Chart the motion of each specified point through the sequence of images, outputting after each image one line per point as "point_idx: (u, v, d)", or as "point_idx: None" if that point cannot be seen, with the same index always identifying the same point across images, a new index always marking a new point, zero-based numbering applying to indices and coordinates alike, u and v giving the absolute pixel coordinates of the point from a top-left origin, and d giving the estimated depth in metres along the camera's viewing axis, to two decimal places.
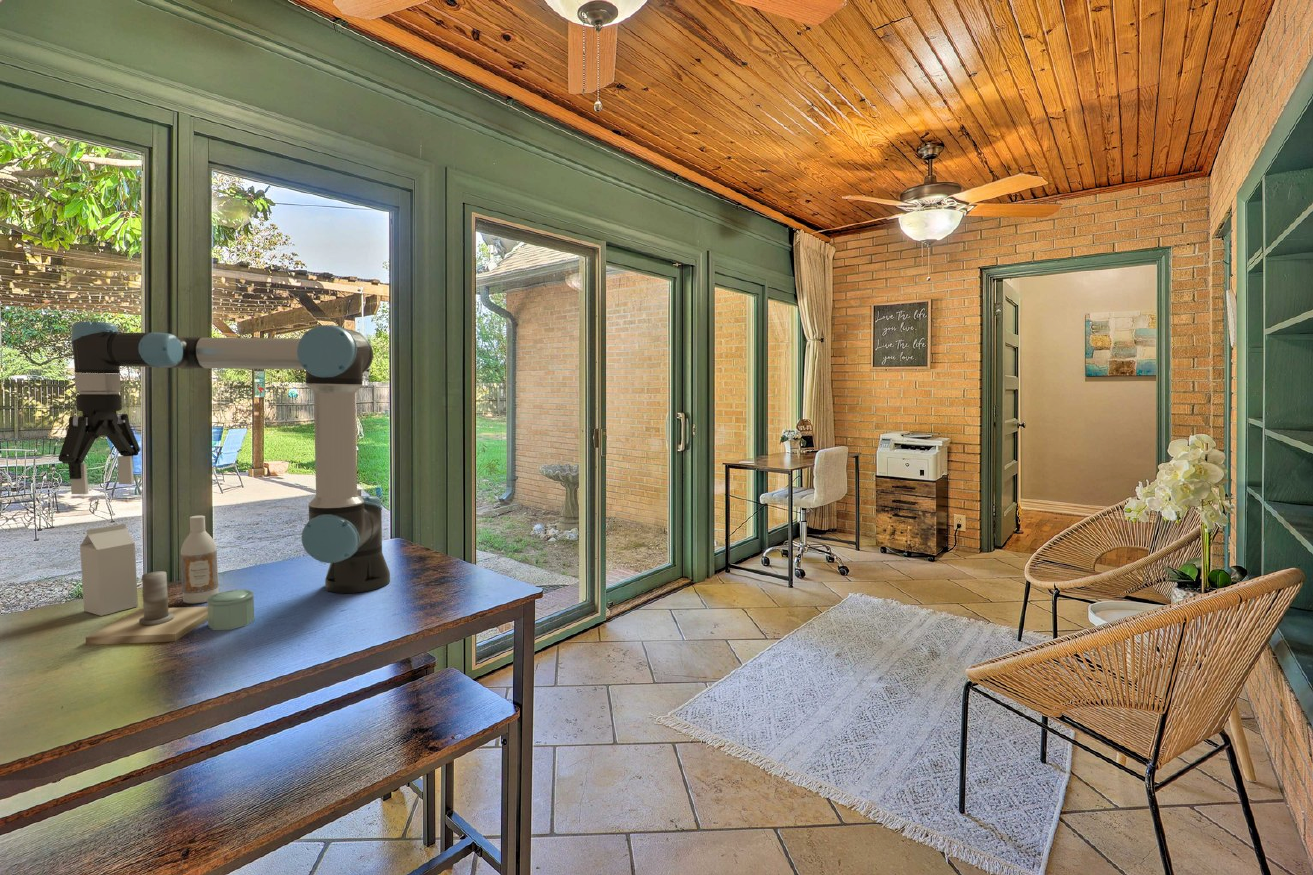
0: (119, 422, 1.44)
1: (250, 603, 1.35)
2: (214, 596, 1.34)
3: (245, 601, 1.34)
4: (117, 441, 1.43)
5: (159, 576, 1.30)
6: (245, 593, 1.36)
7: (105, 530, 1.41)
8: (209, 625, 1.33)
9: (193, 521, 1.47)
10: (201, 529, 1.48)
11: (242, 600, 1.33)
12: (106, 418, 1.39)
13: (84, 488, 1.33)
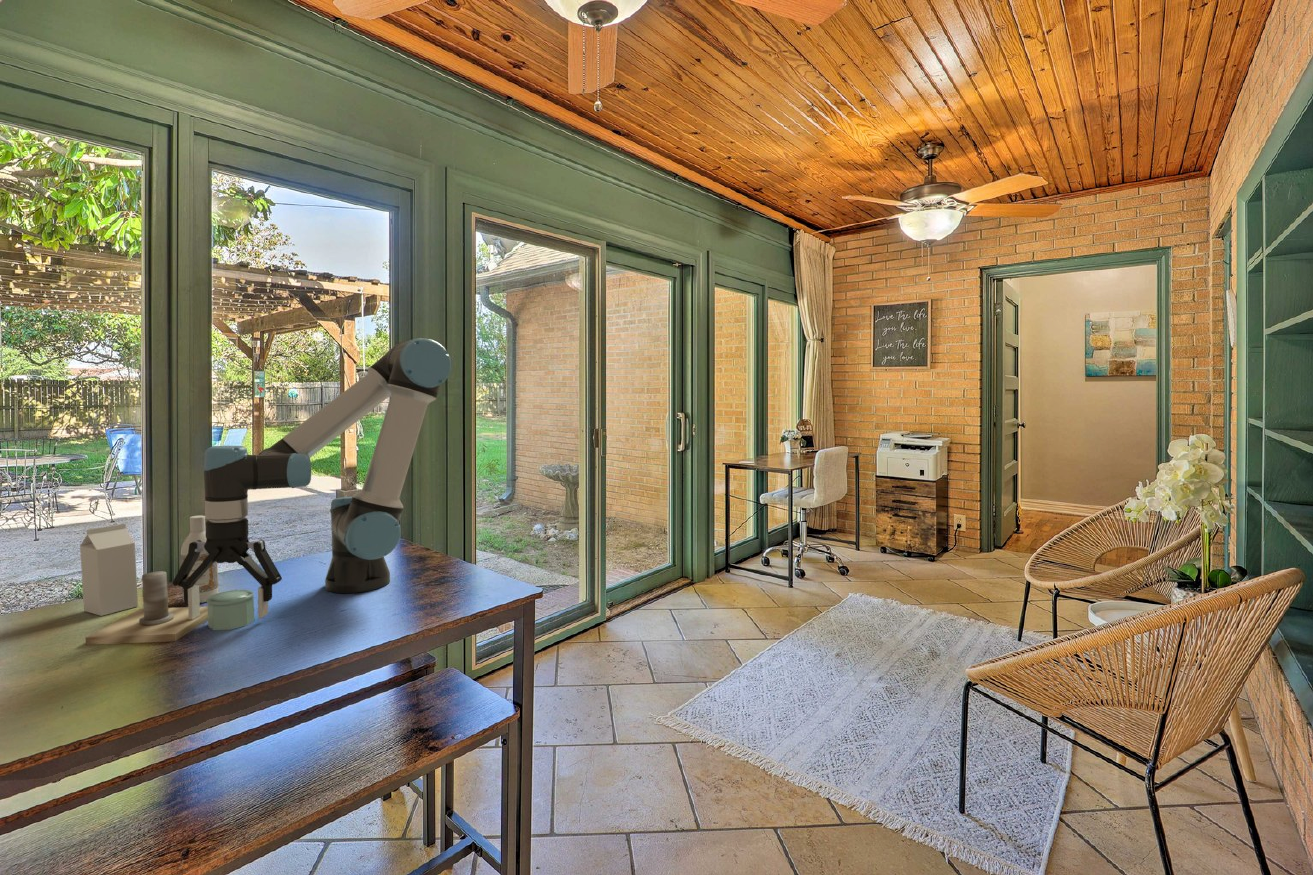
0: None
1: (250, 603, 1.35)
2: (214, 596, 1.34)
3: (245, 601, 1.34)
4: None
5: (159, 576, 1.30)
6: (245, 593, 1.36)
7: (105, 530, 1.41)
8: (209, 625, 1.33)
9: (193, 521, 1.47)
10: (201, 529, 1.48)
11: (242, 600, 1.33)
12: (226, 545, 1.33)
13: None
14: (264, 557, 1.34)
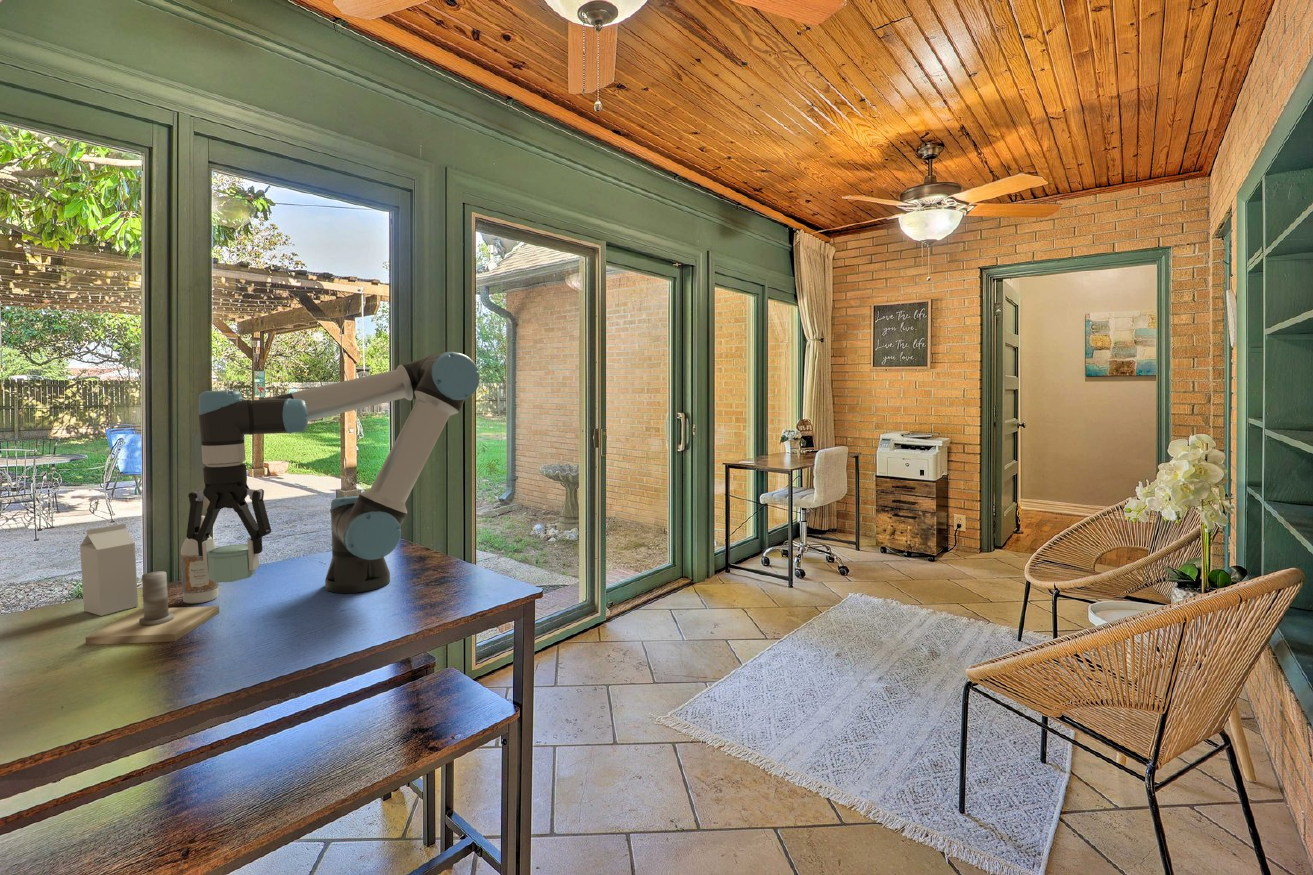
0: None
1: None
2: (215, 549, 1.34)
3: (246, 554, 1.33)
4: None
5: (159, 576, 1.30)
6: (245, 546, 1.36)
7: (105, 530, 1.41)
8: (210, 578, 1.32)
9: None
10: None
11: (243, 552, 1.32)
12: (226, 487, 1.32)
13: None
14: (260, 507, 1.33)
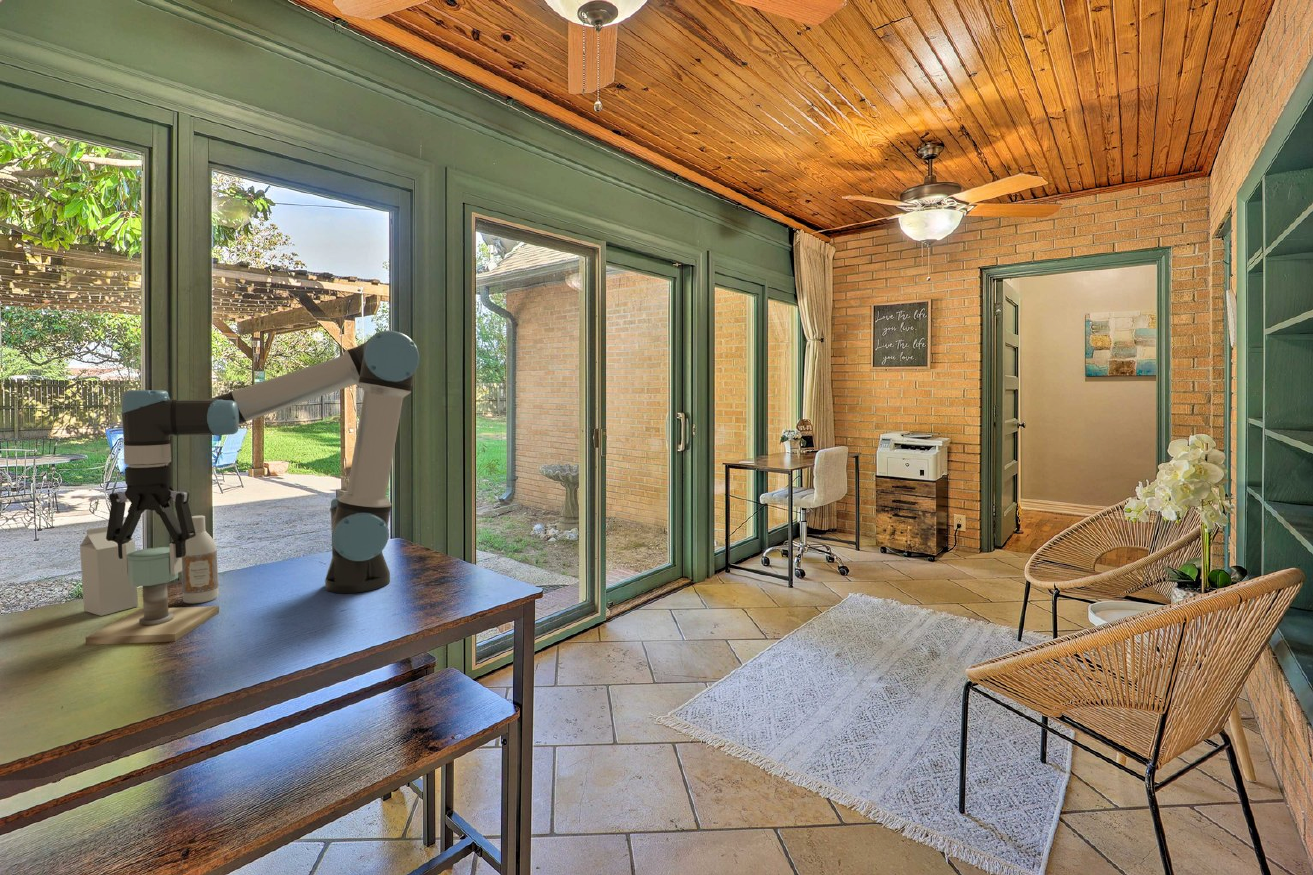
0: None
1: None
2: (136, 552, 1.30)
3: (167, 557, 1.30)
4: None
5: None
6: (168, 550, 1.33)
7: (105, 530, 1.41)
8: (129, 581, 1.29)
9: (193, 521, 1.47)
10: (201, 529, 1.48)
11: (164, 556, 1.29)
12: (148, 488, 1.29)
13: None
14: (183, 510, 1.30)
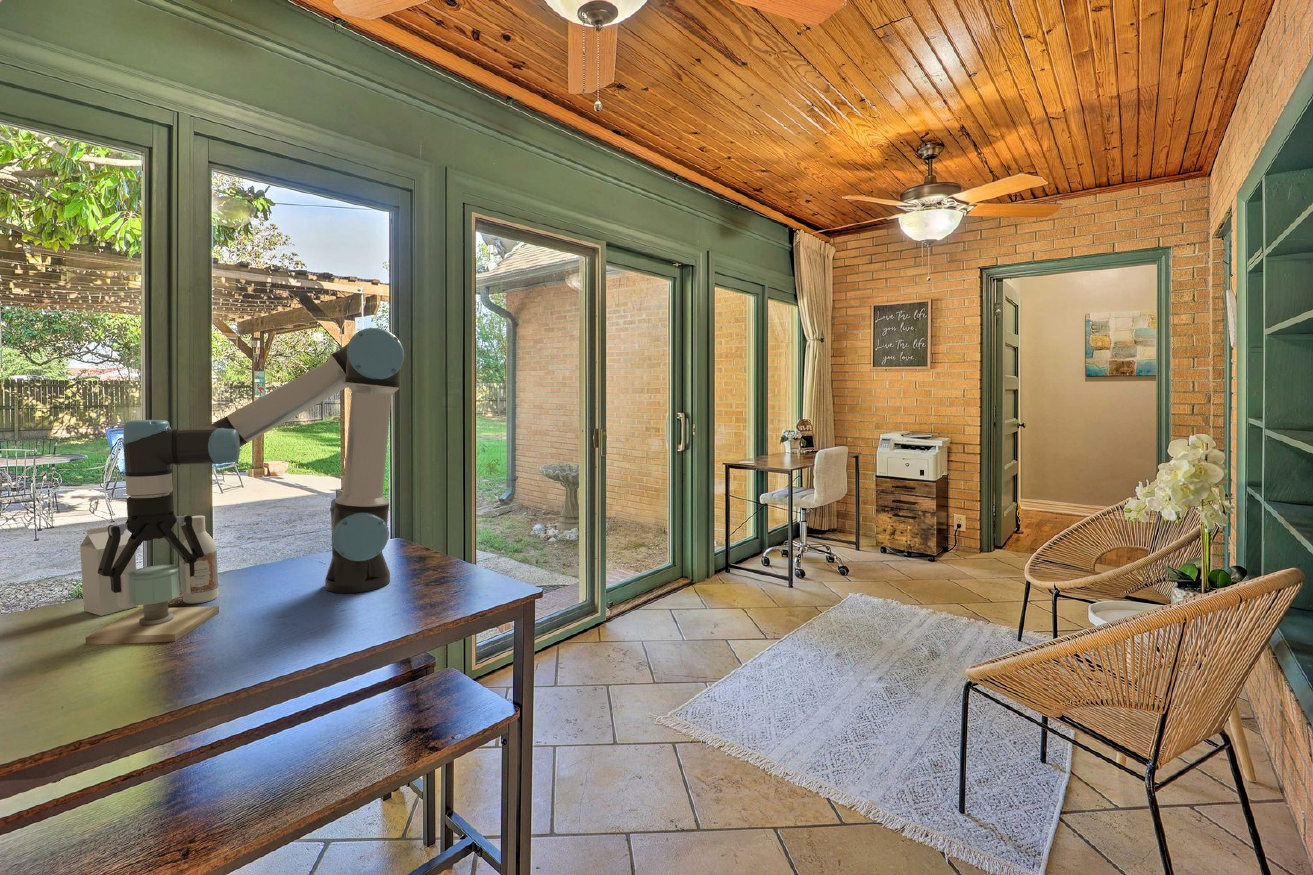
0: (180, 524, 1.34)
1: None
2: (134, 573, 1.29)
3: (178, 571, 1.34)
4: (173, 545, 1.34)
5: None
6: (164, 566, 1.34)
7: (105, 530, 1.41)
8: (139, 602, 1.28)
9: (193, 521, 1.47)
10: (201, 529, 1.48)
11: (177, 569, 1.33)
12: (155, 519, 1.30)
13: (122, 602, 1.26)
14: None
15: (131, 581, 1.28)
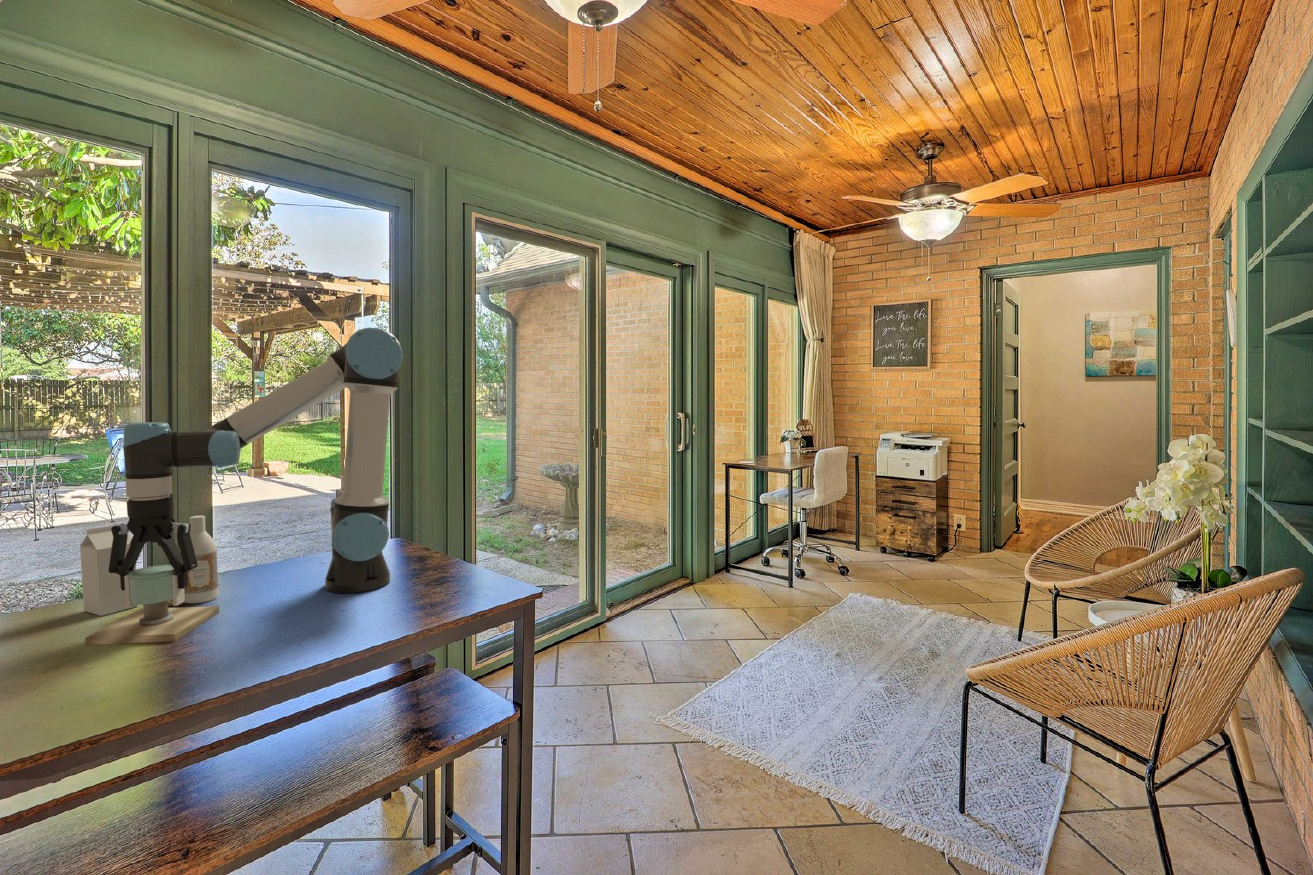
0: None
1: None
2: (135, 573, 1.29)
3: None
4: None
5: None
6: (164, 566, 1.34)
7: (105, 530, 1.41)
8: (140, 602, 1.28)
9: (193, 521, 1.47)
10: (201, 529, 1.48)
11: None
12: (150, 521, 1.29)
13: None
14: (185, 541, 1.31)
15: (131, 581, 1.28)
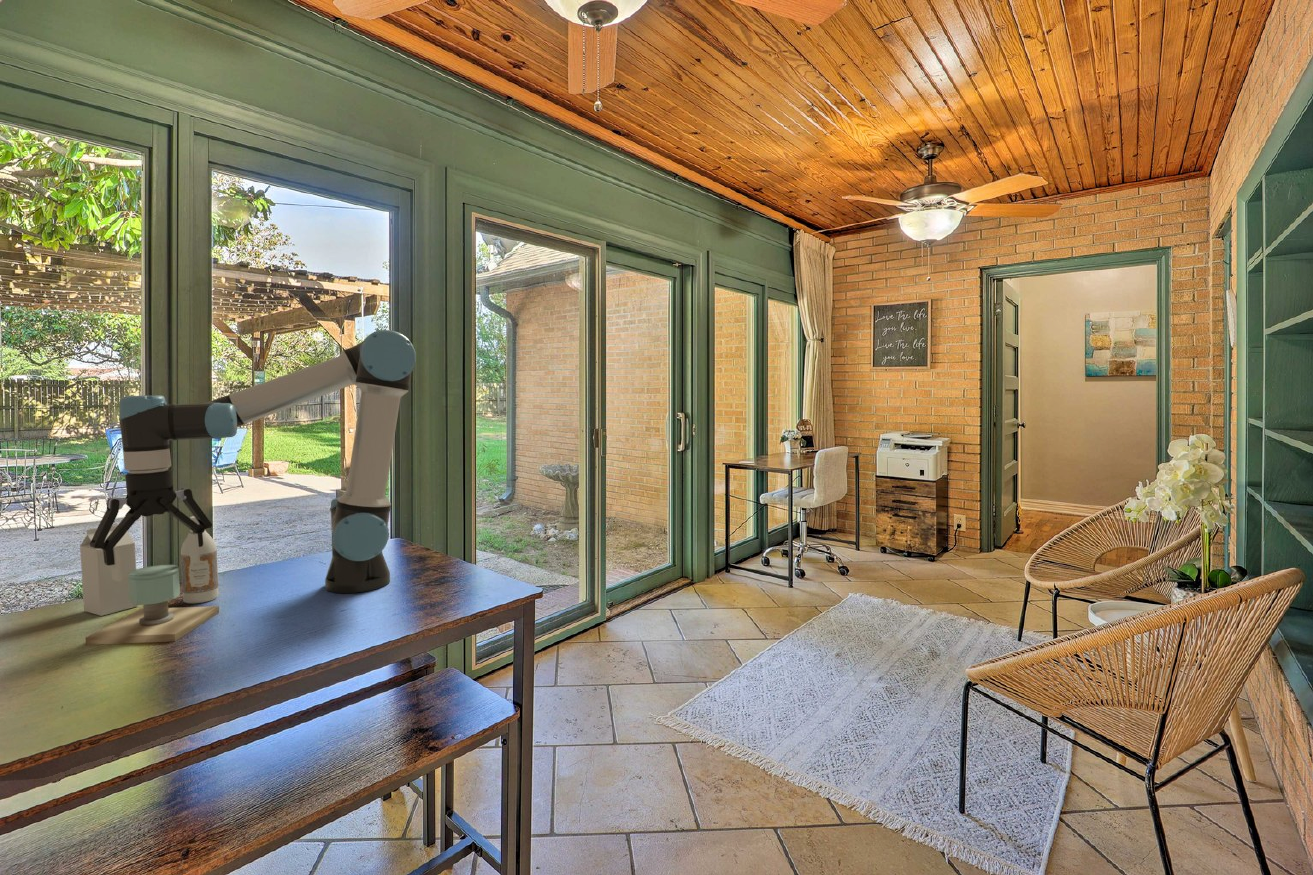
0: (181, 498, 1.34)
1: None
2: (145, 574, 1.28)
3: None
4: (178, 518, 1.34)
5: None
6: (151, 567, 1.33)
7: None
8: (159, 600, 1.29)
9: None
10: None
11: None
12: (155, 497, 1.30)
13: (116, 575, 1.25)
14: None
15: (144, 582, 1.28)
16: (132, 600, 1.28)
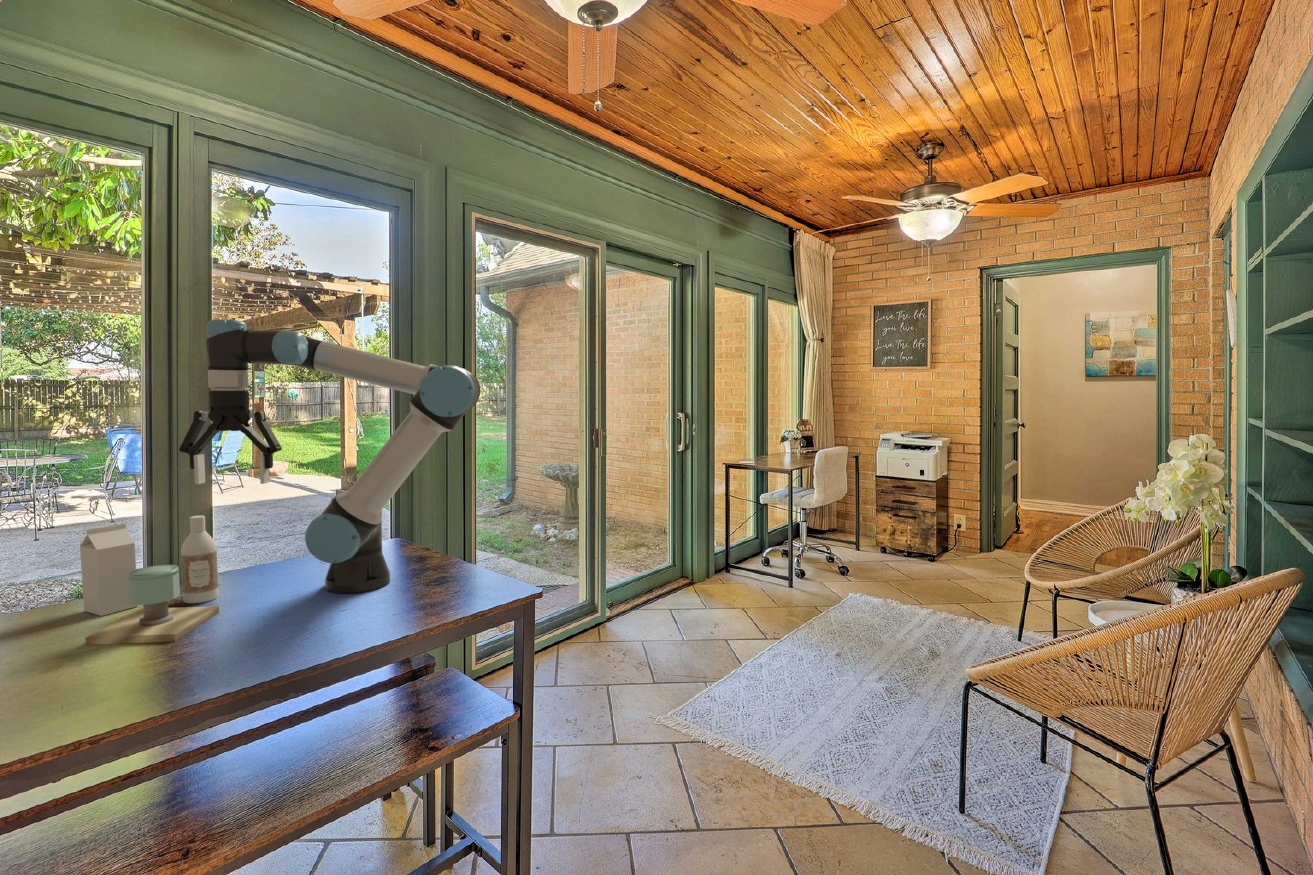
0: (254, 419, 1.42)
1: None
2: (145, 574, 1.28)
3: None
4: None
5: None
6: (151, 567, 1.33)
7: (105, 530, 1.41)
8: (159, 600, 1.29)
9: (193, 521, 1.47)
10: (201, 529, 1.48)
11: None
12: (228, 414, 1.41)
13: None
14: (265, 426, 1.42)
15: (144, 582, 1.28)
16: (132, 600, 1.28)
